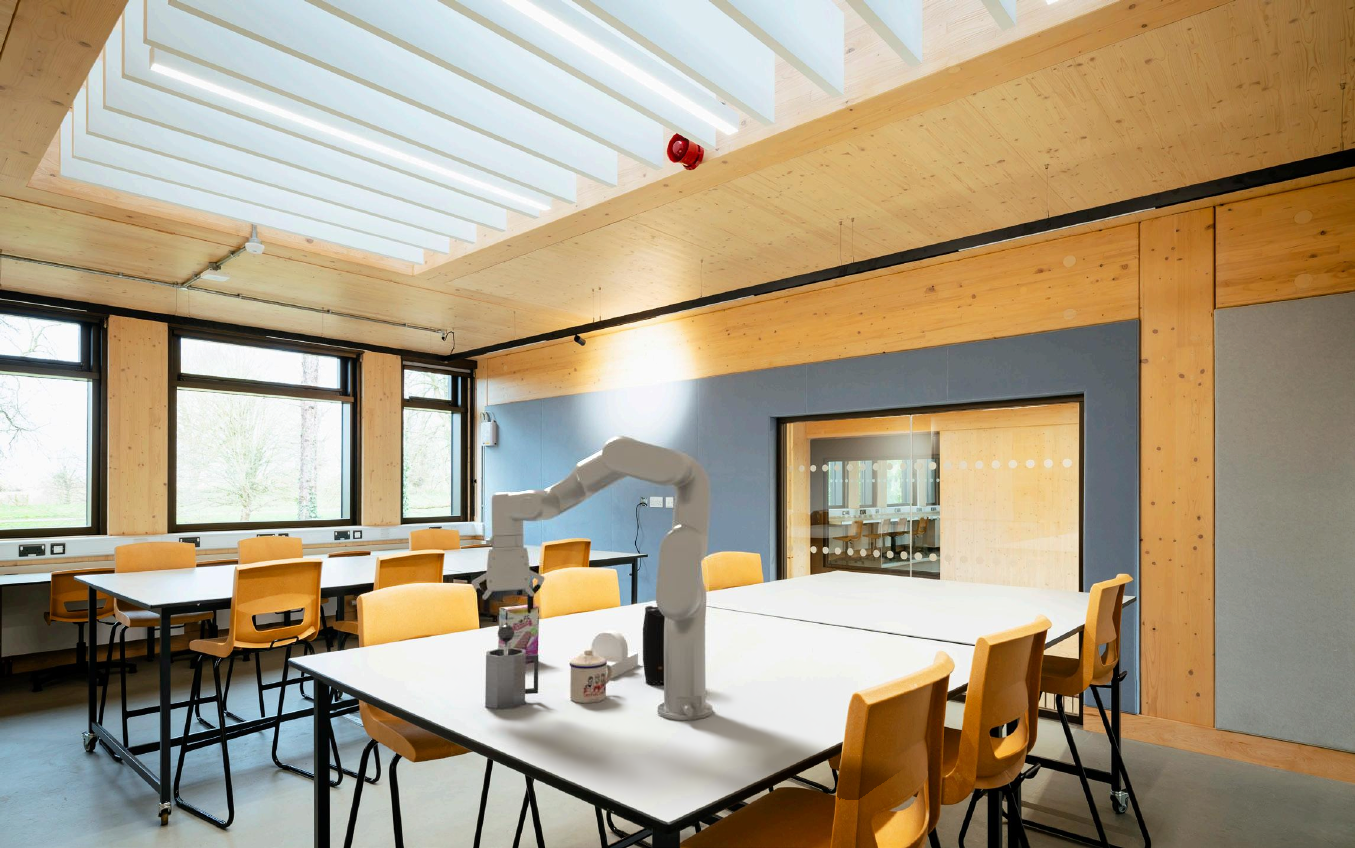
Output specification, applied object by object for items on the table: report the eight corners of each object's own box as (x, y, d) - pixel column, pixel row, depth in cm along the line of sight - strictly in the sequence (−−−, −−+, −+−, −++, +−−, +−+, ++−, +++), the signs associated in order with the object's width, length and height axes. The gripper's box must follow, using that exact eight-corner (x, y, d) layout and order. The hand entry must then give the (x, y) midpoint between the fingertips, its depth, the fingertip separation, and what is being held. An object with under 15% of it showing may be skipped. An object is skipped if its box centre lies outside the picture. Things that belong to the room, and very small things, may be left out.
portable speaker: (670, 687, 192) (669, 610, 193) (637, 684, 195) (636, 608, 197) (682, 679, 200) (681, 605, 201) (650, 676, 203) (649, 604, 205)
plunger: (518, 696, 176) (519, 626, 178) (492, 698, 175) (493, 627, 176) (517, 690, 182) (518, 622, 184) (492, 691, 181) (493, 623, 182)
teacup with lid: (585, 706, 176) (585, 655, 177) (561, 699, 182) (562, 650, 183) (623, 696, 184) (623, 647, 185) (599, 689, 191) (599, 642, 192)
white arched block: (609, 680, 201) (609, 638, 202) (578, 677, 205) (578, 636, 206) (638, 665, 217) (638, 627, 218) (609, 663, 221) (609, 625, 222)
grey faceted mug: (538, 706, 176) (539, 654, 177) (484, 710, 173) (485, 657, 174) (536, 696, 185) (537, 646, 186) (485, 699, 182) (486, 649, 183)
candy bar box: (505, 667, 215) (506, 609, 217) (497, 664, 219) (498, 607, 221) (539, 661, 223) (539, 605, 224) (531, 658, 226) (531, 603, 228)
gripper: (470, 545, 176) (471, 619, 174) (544, 541, 180) (545, 613, 178) (471, 543, 183) (472, 614, 182) (542, 540, 187) (544, 609, 186)
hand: (508, 614), depth 180 cm, fingers open, 9 cm apart
